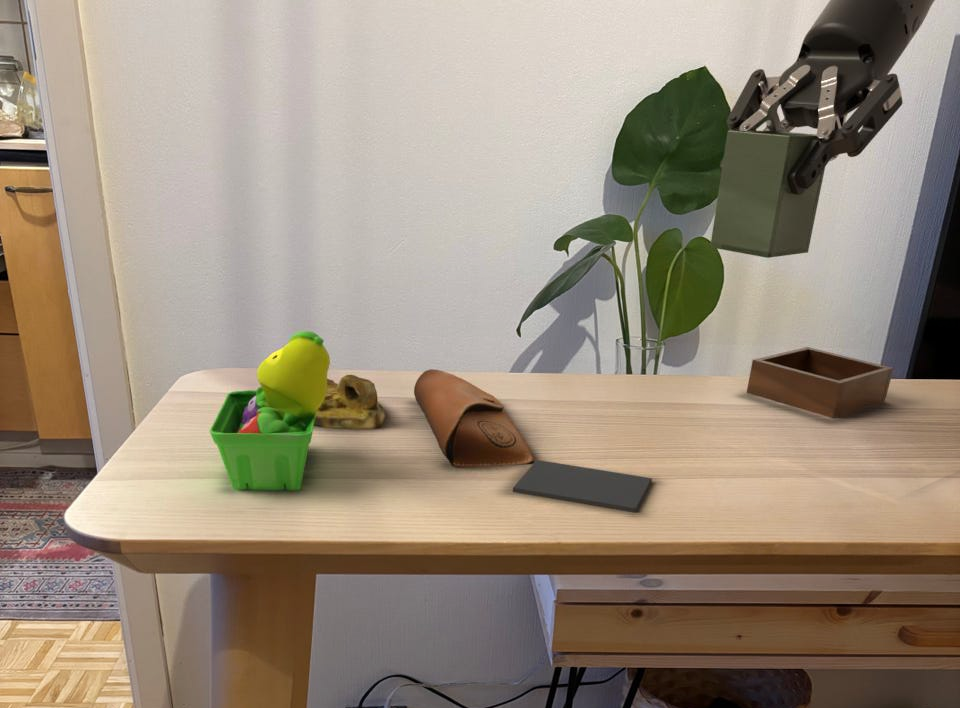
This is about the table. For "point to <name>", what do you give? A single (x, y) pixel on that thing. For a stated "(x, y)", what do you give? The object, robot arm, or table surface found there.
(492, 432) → the sunglasses case
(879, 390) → the brown open box
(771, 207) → the green square pen holder
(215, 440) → the fruit basket
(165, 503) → the table surface
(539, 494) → the felt mat
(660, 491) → the table surface
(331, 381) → the tan lumpy piece
